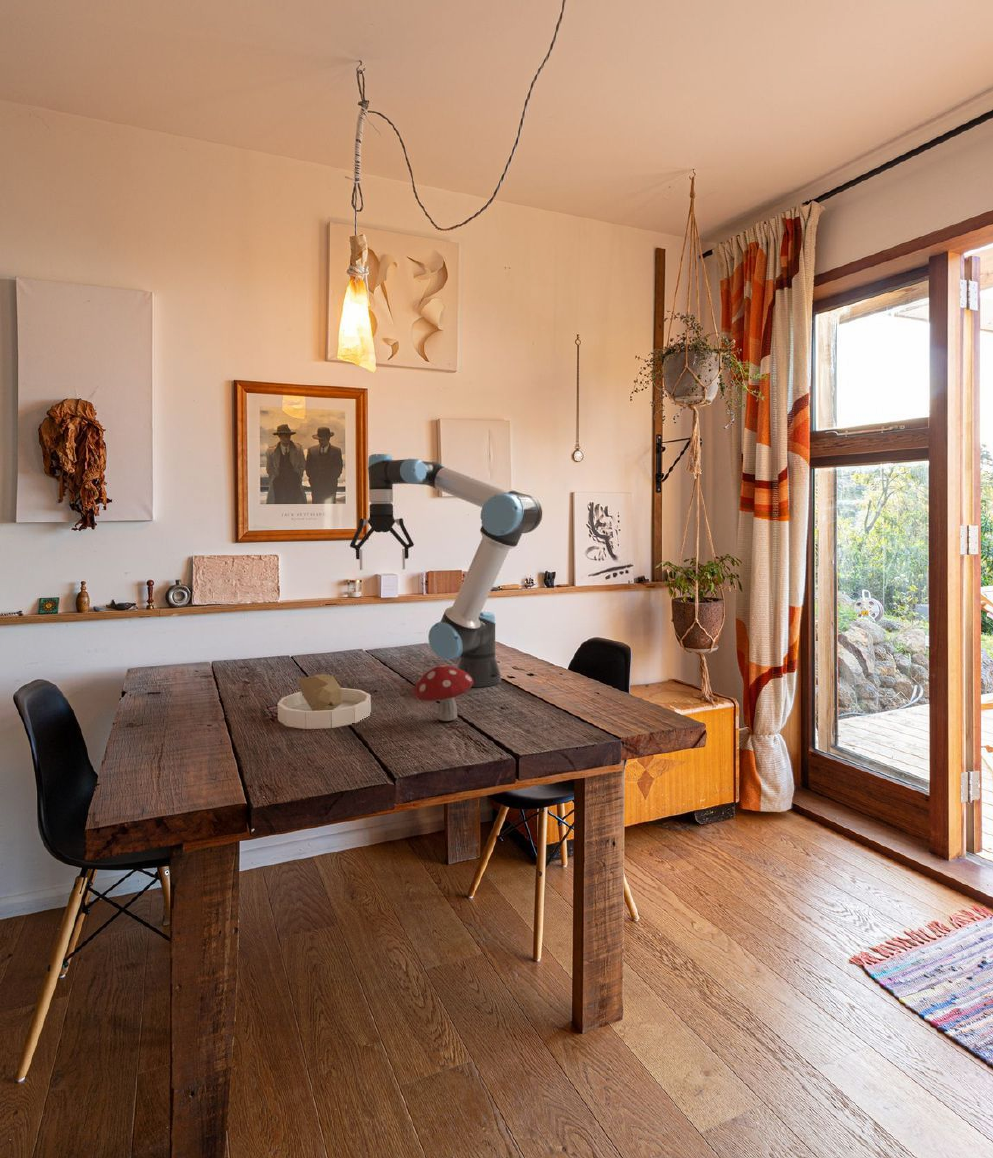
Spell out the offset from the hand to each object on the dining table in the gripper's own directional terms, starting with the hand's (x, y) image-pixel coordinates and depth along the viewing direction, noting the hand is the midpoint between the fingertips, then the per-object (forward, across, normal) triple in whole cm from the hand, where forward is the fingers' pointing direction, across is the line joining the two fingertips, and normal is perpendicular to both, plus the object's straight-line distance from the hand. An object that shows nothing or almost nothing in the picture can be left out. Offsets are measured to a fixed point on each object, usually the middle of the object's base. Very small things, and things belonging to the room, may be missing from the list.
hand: (382, 569), depth 223 cm
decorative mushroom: (+37, -18, +47) cm, 62 cm away
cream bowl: (+37, +14, +37) cm, 54 cm away
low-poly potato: (+36, +15, +38) cm, 54 cm away
